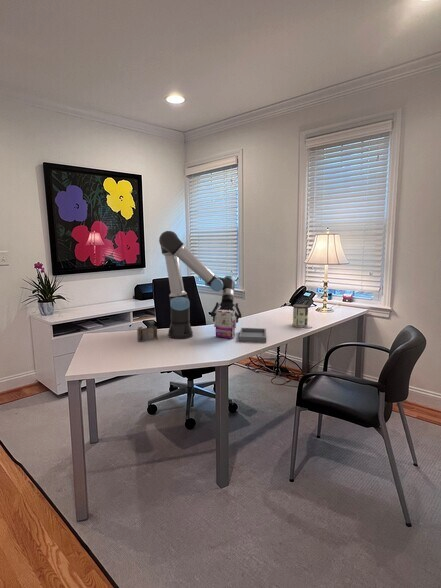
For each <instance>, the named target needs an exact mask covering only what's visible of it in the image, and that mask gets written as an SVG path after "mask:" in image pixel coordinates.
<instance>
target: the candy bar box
mask: <svg viewBox="0 0 441 588" xmlns="http://www.w3.org/2000/svg"><path fill="white" fill-rule="evenodd" d="M235 312H236V311H231V310H220V308H219V309H217V310H216V312H215V313H216V327H215V337H218V338H223V339H234V338H235V336H236V328H235Z"/></svg>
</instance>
